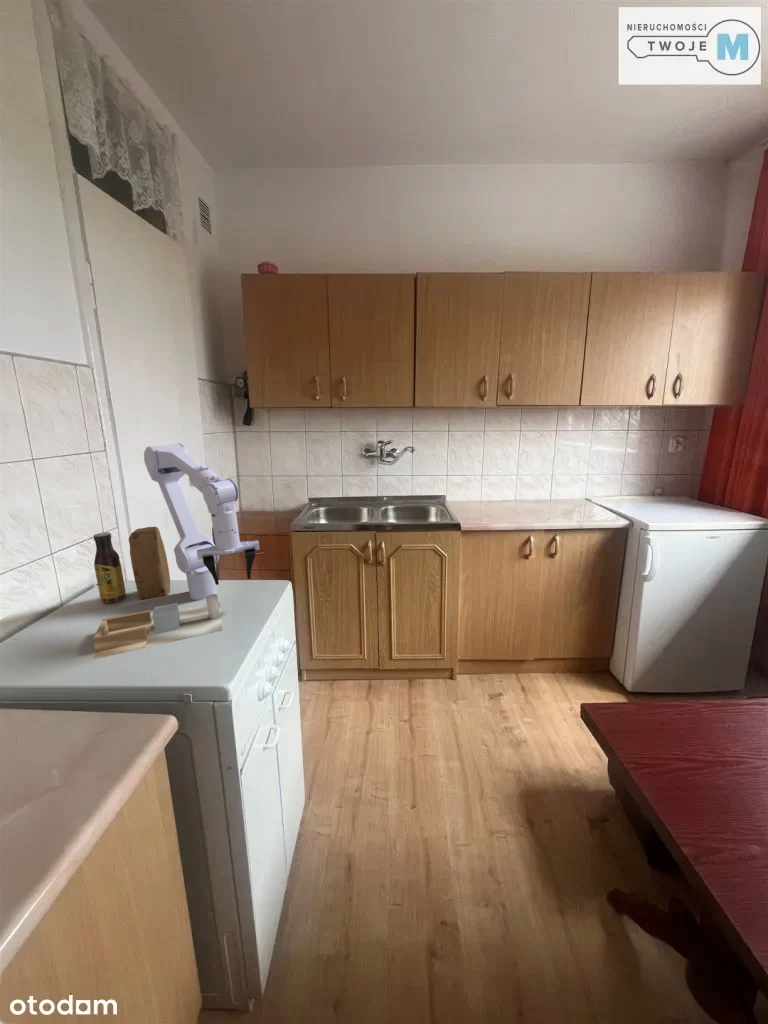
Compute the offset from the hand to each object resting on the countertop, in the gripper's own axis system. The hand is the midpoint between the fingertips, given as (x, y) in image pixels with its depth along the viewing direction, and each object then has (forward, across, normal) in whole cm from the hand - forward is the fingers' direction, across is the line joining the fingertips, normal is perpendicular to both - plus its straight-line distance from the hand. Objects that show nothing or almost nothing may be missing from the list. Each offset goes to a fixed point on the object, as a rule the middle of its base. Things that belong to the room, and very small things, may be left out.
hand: (233, 580), depth 107 cm
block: (+10, -21, +24) cm, 33 cm away
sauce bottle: (+10, -32, +26) cm, 42 cm away
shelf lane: (+9, -17, -2) cm, 20 cm away
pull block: (+8, -11, -2) cm, 14 cm away
